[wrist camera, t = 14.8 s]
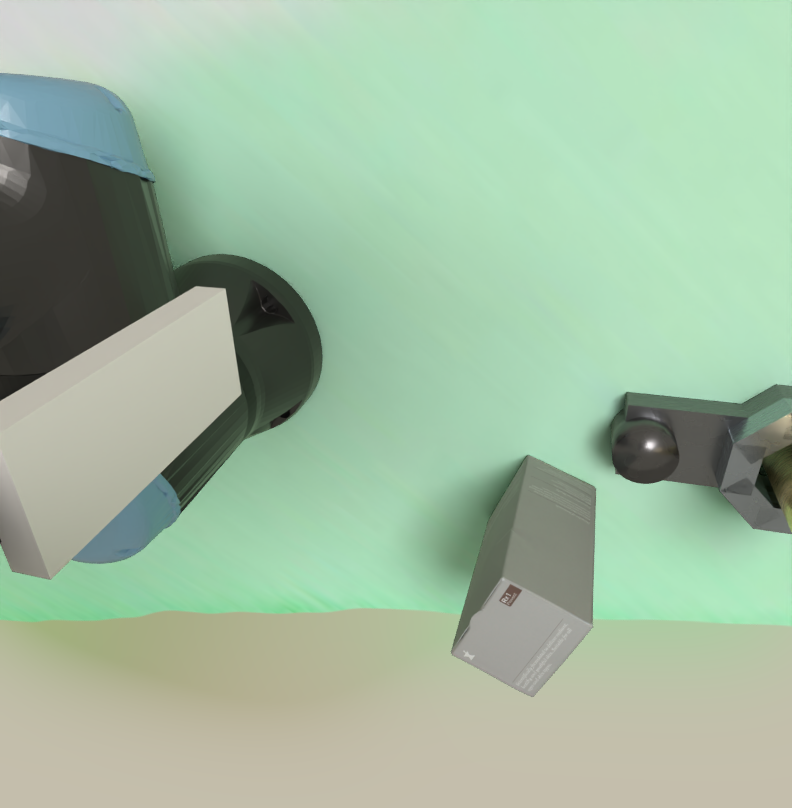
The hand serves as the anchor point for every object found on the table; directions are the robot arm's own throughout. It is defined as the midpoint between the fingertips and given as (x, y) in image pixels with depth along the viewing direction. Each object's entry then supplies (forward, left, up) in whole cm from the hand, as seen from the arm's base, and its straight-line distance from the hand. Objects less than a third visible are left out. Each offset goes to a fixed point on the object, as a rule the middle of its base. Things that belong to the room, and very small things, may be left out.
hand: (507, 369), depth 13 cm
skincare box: (+1, -27, -32) cm, 42 cm away
